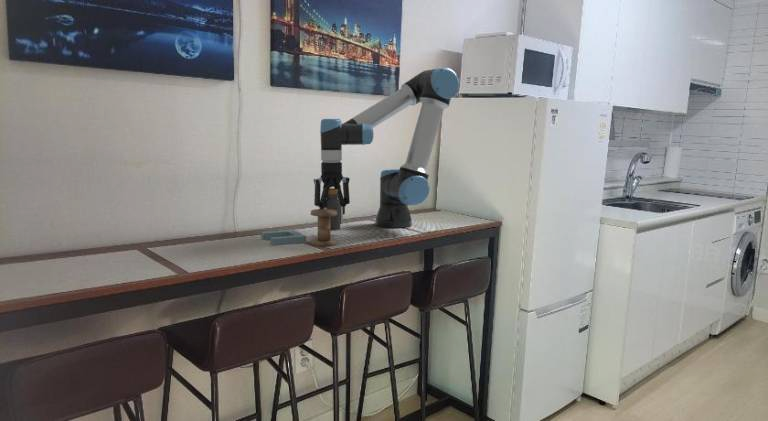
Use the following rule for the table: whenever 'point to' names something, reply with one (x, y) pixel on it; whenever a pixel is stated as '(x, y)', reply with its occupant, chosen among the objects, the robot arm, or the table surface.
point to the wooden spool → (324, 227)
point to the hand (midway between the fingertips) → (332, 224)
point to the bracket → (284, 237)
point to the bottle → (333, 208)
